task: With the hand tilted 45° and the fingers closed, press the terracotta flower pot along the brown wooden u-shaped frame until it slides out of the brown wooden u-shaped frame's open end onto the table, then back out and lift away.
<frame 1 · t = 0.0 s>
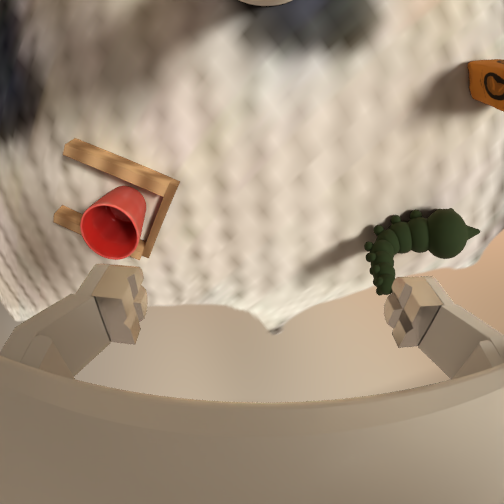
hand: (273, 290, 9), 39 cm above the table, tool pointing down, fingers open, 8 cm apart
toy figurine: (409, 222, 53), on the table
flower pot: (128, 203, 50), on the table
brown wooden u-shaped frame: (109, 196, 49), on the table
coffee package: (485, 79, 33), on the table
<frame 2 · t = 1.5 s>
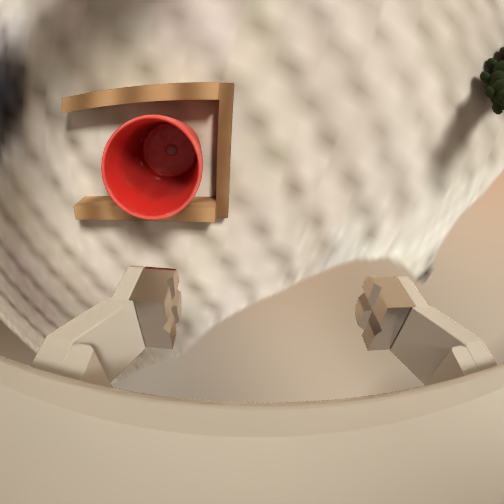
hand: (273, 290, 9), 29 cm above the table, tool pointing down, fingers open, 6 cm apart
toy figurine: (503, 67, 25), on the table
flower pot: (172, 148, 35), on the table
brown wooden u-shaped frame: (142, 149, 34), on the table
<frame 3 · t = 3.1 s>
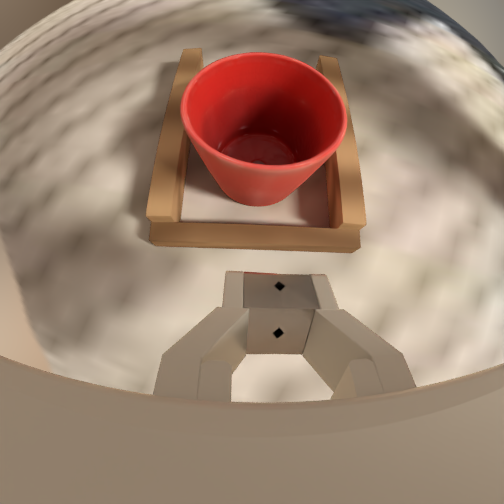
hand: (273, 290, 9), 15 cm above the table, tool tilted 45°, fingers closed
flower pot: (256, 170, 26), on the table
brown wooden u-shaped frame: (257, 134, 27), on the table
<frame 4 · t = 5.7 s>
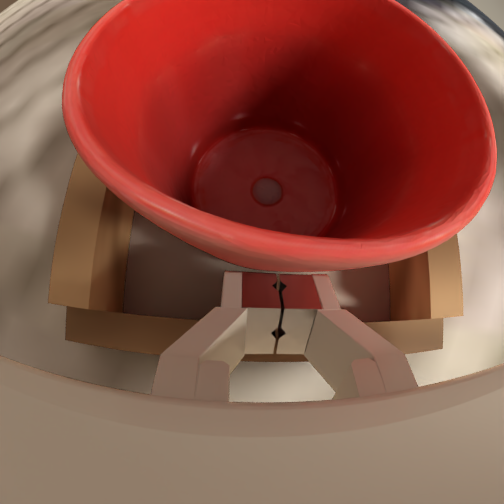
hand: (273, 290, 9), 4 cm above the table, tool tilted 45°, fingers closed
flower pot: (263, 196, 14), on the table, touching gripper
brown wooden u-shaped frame: (265, 132, 15), on the table
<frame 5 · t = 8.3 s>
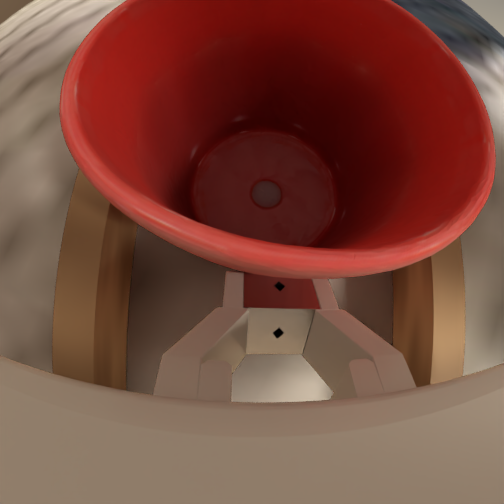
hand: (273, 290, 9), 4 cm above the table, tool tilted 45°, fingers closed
flower pot: (263, 199, 15), on the table, touching gripper
brown wooden u-shaped frame: (262, 402, 12), on the table
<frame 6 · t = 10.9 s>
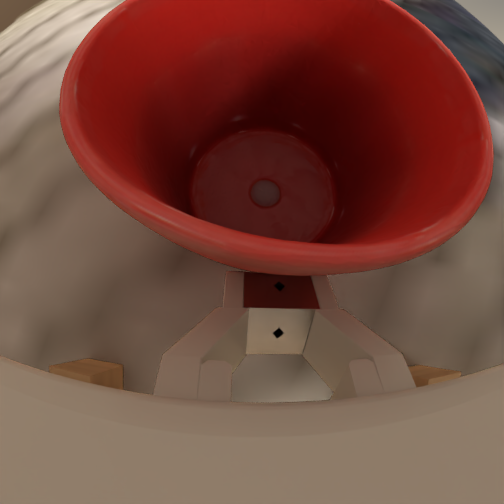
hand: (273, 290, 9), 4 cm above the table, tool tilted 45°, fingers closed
flower pot: (262, 198, 15), on the table, touching gripper
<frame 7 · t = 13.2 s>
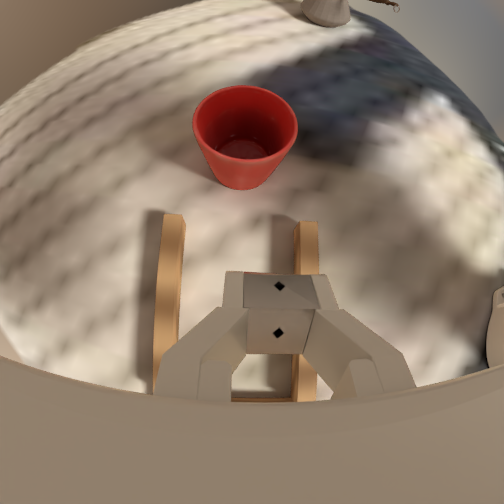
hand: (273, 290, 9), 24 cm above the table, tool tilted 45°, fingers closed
coffee pot: (338, 30, 48), on the table
flower pot: (241, 166, 37), on the table
brown wooden u-shaped frame: (236, 312, 33), on the table
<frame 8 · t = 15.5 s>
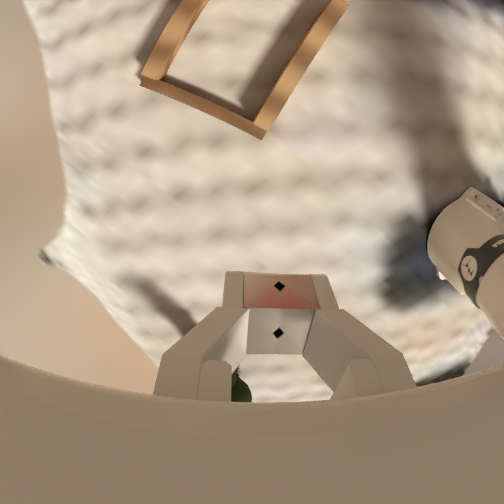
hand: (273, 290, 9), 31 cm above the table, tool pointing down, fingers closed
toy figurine: (220, 360, 59), on the table
brown wooden u-shaped frame: (245, 33, 28), on the table
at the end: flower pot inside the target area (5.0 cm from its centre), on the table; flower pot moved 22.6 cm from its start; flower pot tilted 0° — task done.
